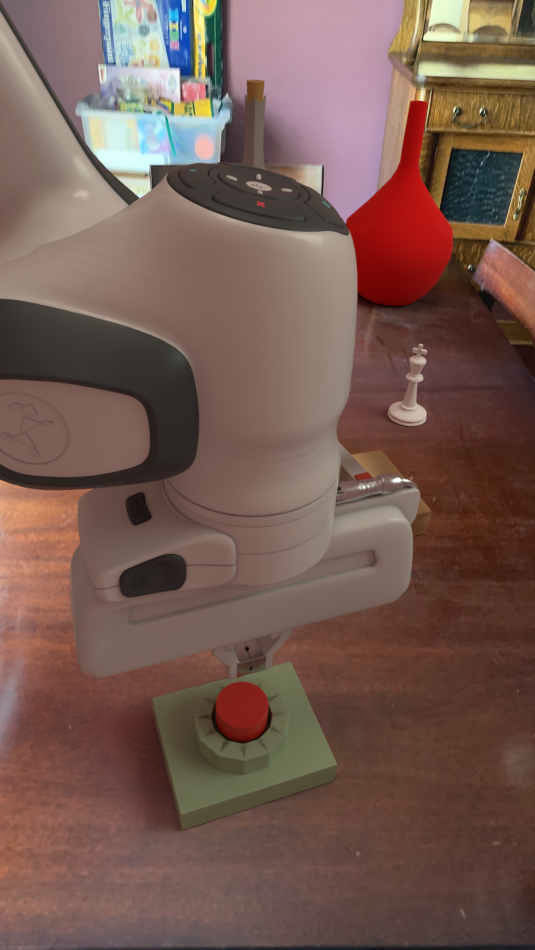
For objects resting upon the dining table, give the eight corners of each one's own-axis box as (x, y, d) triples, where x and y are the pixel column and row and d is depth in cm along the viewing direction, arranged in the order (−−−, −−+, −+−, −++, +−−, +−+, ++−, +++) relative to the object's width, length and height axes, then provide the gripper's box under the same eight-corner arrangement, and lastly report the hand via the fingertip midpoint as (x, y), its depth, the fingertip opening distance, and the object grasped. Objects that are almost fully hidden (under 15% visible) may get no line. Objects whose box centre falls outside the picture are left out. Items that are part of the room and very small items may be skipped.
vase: (450, 320, 110) (496, 116, 92) (338, 314, 110) (362, 109, 92) (431, 278, 125) (467, 95, 107) (332, 273, 125) (352, 89, 107)
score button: (224, 748, 45) (224, 734, 44) (209, 703, 48) (209, 688, 47) (274, 733, 46) (275, 719, 45) (257, 690, 49) (258, 675, 48)
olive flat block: (181, 831, 44) (179, 800, 42) (153, 714, 51) (150, 682, 49) (334, 781, 48) (340, 750, 45) (289, 677, 54) (292, 645, 52)
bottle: (211, 270, 123) (210, 82, 105) (232, 251, 132) (234, 73, 114) (270, 280, 121) (279, 88, 103) (287, 259, 129) (298, 79, 111)
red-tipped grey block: (320, 472, 71) (323, 443, 69) (335, 468, 72) (338, 439, 69) (354, 512, 66) (359, 482, 64) (370, 508, 67) (375, 478, 64)
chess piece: (422, 429, 84) (438, 357, 78) (383, 421, 85) (396, 349, 79) (429, 410, 88) (444, 340, 82) (391, 402, 89) (404, 332, 83)
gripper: (398, 437, 41) (369, 594, 49) (46, 502, 35) (82, 667, 43) (454, 502, 36) (411, 663, 44) (59, 589, 30) (96, 755, 39)
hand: (246, 666), depth 44 cm, fingers closed
